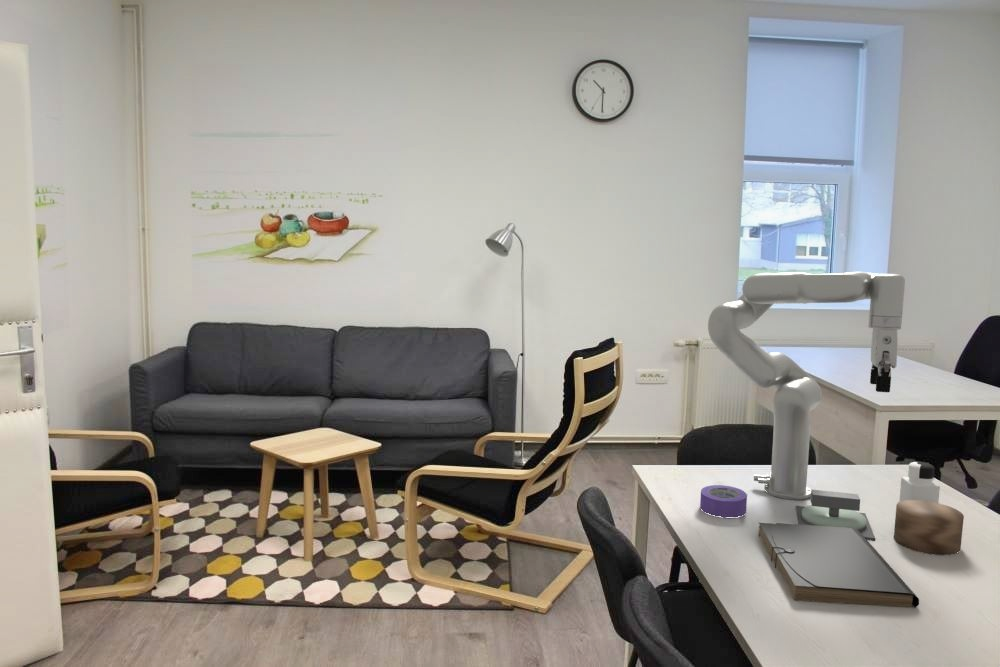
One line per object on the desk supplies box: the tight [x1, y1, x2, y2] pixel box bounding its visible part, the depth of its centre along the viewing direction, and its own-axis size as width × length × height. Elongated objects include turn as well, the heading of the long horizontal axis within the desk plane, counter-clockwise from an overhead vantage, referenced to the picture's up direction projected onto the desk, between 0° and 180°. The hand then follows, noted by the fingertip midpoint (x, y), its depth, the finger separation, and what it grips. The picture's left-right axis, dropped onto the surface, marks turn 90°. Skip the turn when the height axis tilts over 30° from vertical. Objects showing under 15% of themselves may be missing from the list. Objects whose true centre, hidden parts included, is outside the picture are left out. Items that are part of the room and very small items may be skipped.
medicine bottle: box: [899, 461, 941, 503], centre depth 206 cm, size 7×7×12 cm
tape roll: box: [699, 484, 748, 517], centre depth 203 cm, size 12×12×5 cm
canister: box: [893, 500, 965, 556], centre depth 183 cm, size 14×14×8 cm
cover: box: [802, 488, 866, 531], centre depth 195 cm, size 15×15×7 cm
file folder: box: [758, 521, 920, 609], centre depth 170 cm, size 33×4×24 cm
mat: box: [795, 504, 876, 541], centre depth 195 cm, size 17×17×1 cm
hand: (879, 387), depth 199 cm, fingers open, 9 cm apart
